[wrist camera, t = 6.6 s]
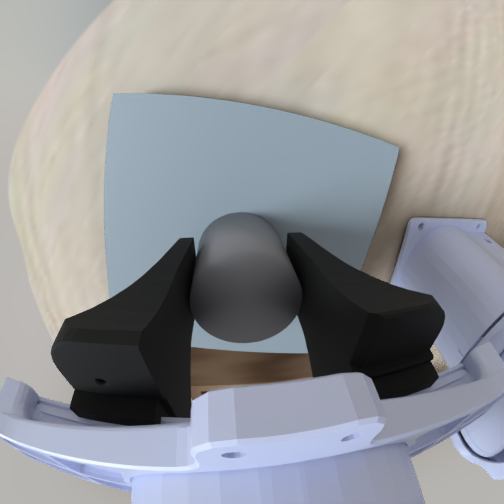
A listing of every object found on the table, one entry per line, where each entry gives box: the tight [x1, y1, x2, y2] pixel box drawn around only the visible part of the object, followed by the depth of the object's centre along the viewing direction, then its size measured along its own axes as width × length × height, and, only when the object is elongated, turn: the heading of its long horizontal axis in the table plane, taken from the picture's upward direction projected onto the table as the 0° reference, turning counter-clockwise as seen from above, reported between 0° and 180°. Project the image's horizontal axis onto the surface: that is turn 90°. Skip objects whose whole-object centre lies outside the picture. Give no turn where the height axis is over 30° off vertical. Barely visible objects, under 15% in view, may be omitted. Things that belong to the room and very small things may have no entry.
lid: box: [104, 93, 400, 353], centre depth 12 cm, size 14×14×6 cm
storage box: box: [191, 347, 313, 400], centre depth 22 cm, size 12×12×4 cm
